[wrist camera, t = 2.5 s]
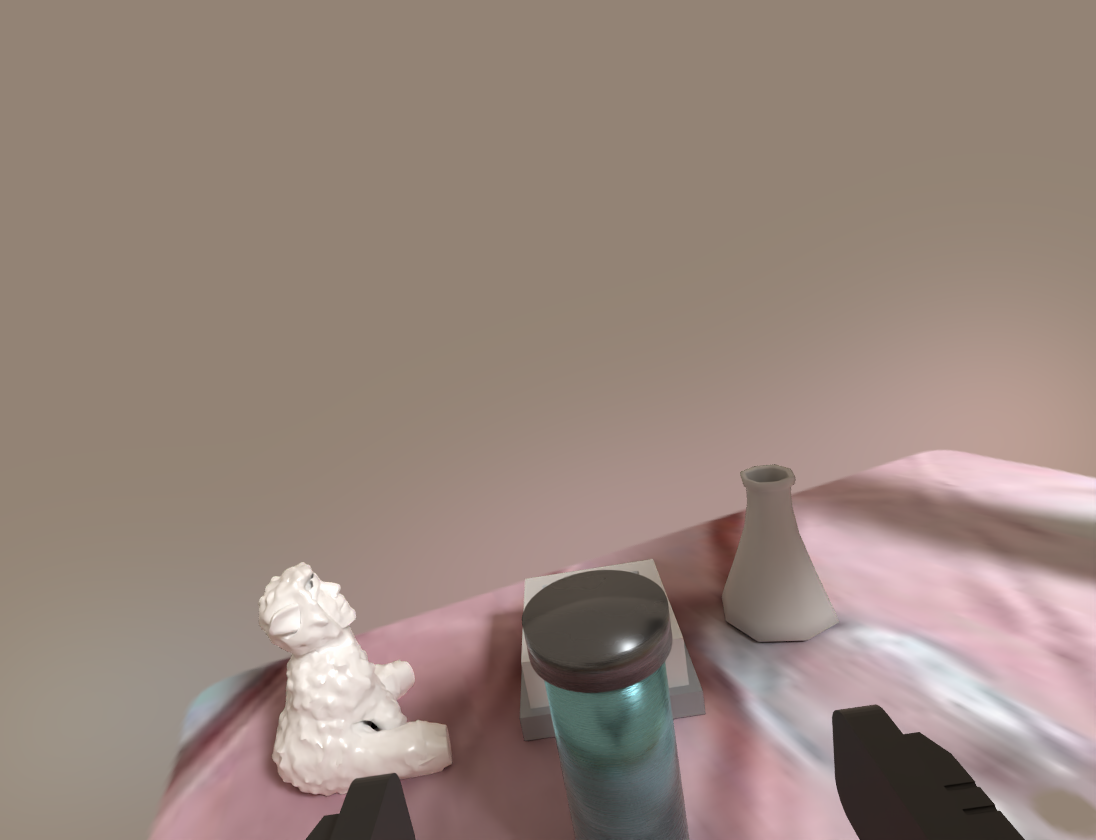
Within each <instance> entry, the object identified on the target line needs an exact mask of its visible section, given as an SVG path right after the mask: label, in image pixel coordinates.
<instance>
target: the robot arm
mask: <svg viewBox="0 0 1096 840" xmlns="http://www.w3.org/2000/svg"><path fill="white" fill-rule="evenodd" d="M832 725H833V744H834V764H835V780H836V786H837V790H838V794H839V797H840V801H841V803H842V806H843V809H844V811H845V813H846V816H847V818H848V820H849V821H850V823H851V825H852V827H853V829H854V830H855V832H856V834H857V836H858V837H859V839H860V840H1025V839H1024V838H1023V837H1022V836H1021V835H1020V834H1019V832H1018V831H1017V830H1016V829H1015V828H1014V827H1013V825H1012V824H1011V823H1010V822H1009V821H1008V820H1007V818H1006V817H1005V816H1004V815H1003V814H1002V813H1001V811H997V809H996V808H995V804H994V803H993V802H992V801H991V800H990V798H989V797H988V796H987V795H986V794H985V793H984V791H983V790H982V789H981V788H980V787H977V786H976V784H975V781H974V780H973V779H972V777H971V776H970V775H969V774H968V773H967V772H966V770H965V769H964V768H963V767H962V766H961V765H960V763H959V762H958V761H957V760H956V759H955V758H954V756H953V755H952V754H951V753H949V752H948V751H946V750H945V749H943V748H942V747H941V746H939V745H938V744H936V743H935V742H933V741H932V740H930V739H929V738H927V737H926V736H924V735H923V734H921V733H920V732H917V733H910V734H902V732H901V731H900V730H899V728H898V727H897V726H896V725H895V723H894V722H893V721H892V720H891V718H890V717H889V716H888V714H887V713H886V712H885V711H884V710H883V709H882V708H881V707H880V706H878V705H869V706H862V707H855V708H848V709H841V710H835V711H834V712H833V716H832ZM306 840H415V835H414V831H413V827H412V823H411V820H410V816H409V812H408V808H407V805H406V801H405V797H404V793H403V790H402V786H401V782H400V779H399V777H398V775H397V774H396V773H389V774H382V775H375V776H368V777H361V778H356V779H354V780H353V781H352V783H351V784H350V787H349V789H348V792H347V795H346V797H345V800H344V803H343V806H342V808H341V811H340V814H334V815H327V816H324V817H323V818H322V819H321V821H320V822H319V823H318V824H317V826H316V827H315V828H314V829H313V831H312V832H311V833H310V835H309V836H308V837H307V838H306Z"/></svg>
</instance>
